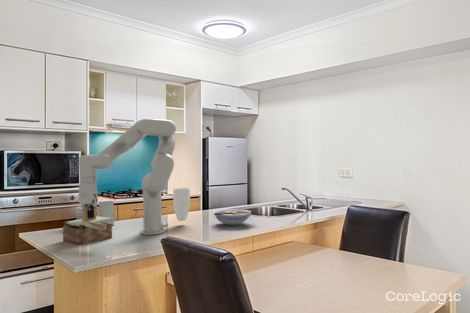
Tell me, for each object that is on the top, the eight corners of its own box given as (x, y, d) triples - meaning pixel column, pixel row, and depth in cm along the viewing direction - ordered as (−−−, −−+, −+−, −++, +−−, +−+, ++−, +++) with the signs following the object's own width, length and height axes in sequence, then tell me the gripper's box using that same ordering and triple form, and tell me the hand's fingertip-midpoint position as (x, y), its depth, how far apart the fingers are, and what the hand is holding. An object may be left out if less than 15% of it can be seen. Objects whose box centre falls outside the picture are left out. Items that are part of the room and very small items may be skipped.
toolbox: (96, 234, 187) (95, 217, 187) (112, 238, 178) (112, 219, 178) (62, 241, 172) (62, 222, 172) (78, 245, 164) (78, 225, 164)
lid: (97, 218, 186) (97, 202, 186) (111, 220, 179) (110, 204, 179) (66, 223, 172) (66, 207, 172) (80, 226, 165) (79, 209, 165)
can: (99, 225, 212) (99, 204, 212) (95, 228, 201) (95, 207, 201) (79, 225, 210) (79, 205, 210) (73, 229, 199) (73, 208, 199)
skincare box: (114, 223, 216) (113, 199, 216) (114, 225, 210) (114, 200, 210) (99, 224, 213) (99, 199, 213) (98, 226, 207) (98, 201, 207)
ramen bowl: (245, 219, 228) (245, 207, 228) (259, 226, 206) (259, 212, 206) (207, 222, 220) (207, 209, 220) (217, 229, 198) (217, 214, 198)
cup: (169, 226, 208) (169, 189, 208) (178, 223, 218) (178, 187, 218) (185, 227, 204) (184, 189, 204) (193, 224, 214) (193, 188, 214)
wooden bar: (88, 226, 166) (88, 220, 166) (106, 229, 158) (106, 224, 158) (85, 226, 165) (85, 221, 165) (103, 230, 156) (103, 224, 156)
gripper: (72, 180, 177) (73, 217, 177) (90, 181, 168) (91, 220, 168) (86, 179, 183) (87, 215, 183) (104, 180, 174) (105, 218, 174)
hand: (89, 217), depth 176 cm, fingers closed on lid
